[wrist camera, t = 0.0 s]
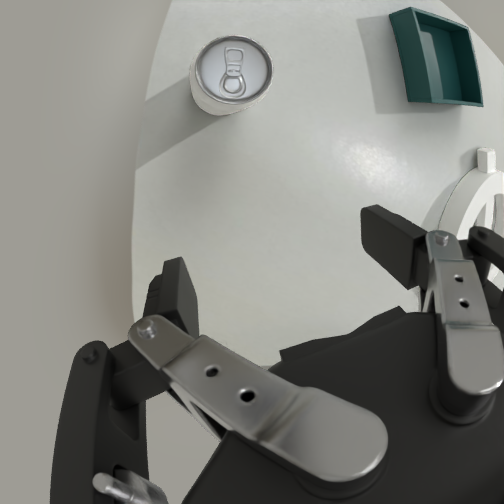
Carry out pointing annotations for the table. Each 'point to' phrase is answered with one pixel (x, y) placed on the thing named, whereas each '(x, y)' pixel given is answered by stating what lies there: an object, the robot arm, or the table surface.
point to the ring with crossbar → (477, 201)
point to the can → (230, 74)
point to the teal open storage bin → (436, 58)
